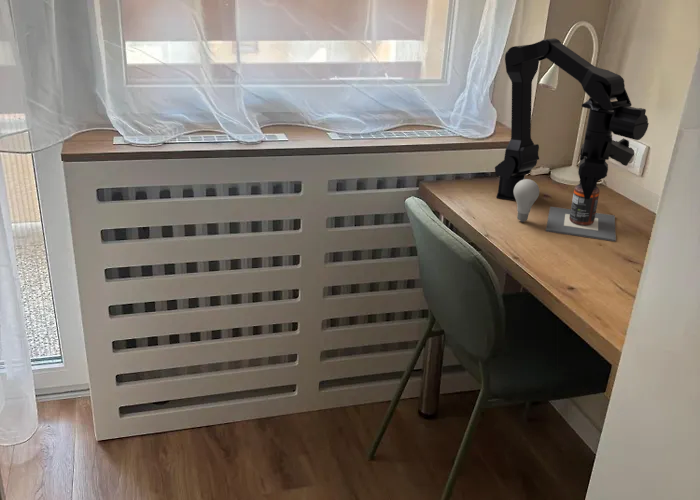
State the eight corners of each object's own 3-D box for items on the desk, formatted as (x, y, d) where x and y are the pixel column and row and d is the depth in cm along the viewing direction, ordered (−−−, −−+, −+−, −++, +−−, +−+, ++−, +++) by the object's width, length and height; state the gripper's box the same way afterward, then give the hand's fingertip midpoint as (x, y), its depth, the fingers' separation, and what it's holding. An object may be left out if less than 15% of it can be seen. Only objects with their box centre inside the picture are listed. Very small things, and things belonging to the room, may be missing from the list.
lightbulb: (536, 219, 173) (543, 178, 168) (531, 228, 168) (538, 185, 163) (512, 215, 175) (518, 174, 170) (506, 223, 170) (512, 181, 165)
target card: (545, 231, 166) (545, 228, 166) (549, 208, 180) (550, 206, 180) (615, 241, 162) (615, 239, 162) (614, 217, 176) (614, 215, 176)
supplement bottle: (590, 217, 173) (599, 175, 169) (596, 227, 168) (604, 183, 163) (566, 216, 174) (574, 173, 169) (571, 225, 168) (579, 181, 164)
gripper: (637, 144, 150) (623, 210, 157) (634, 123, 166) (621, 184, 173) (584, 138, 153) (572, 203, 160) (586, 118, 170) (575, 179, 176)
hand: (587, 192), depth 167 cm, fingers open, 9 cm apart
